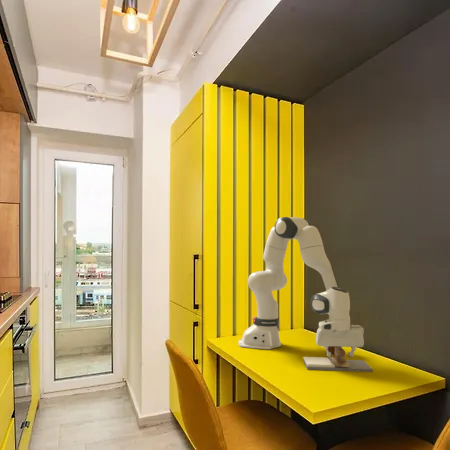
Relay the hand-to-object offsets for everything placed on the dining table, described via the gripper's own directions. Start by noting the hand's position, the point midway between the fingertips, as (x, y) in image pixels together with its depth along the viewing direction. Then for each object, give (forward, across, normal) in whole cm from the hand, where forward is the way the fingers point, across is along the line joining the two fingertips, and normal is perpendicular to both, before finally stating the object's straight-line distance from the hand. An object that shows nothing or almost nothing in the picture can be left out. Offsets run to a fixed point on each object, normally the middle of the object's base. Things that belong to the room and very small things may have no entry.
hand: (339, 356), depth 156 cm
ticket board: (+4, +2, 0) cm, 4 cm away
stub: (+3, 0, 0) cm, 3 cm away
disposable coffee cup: (+4, -2, -19) cm, 20 cm away
